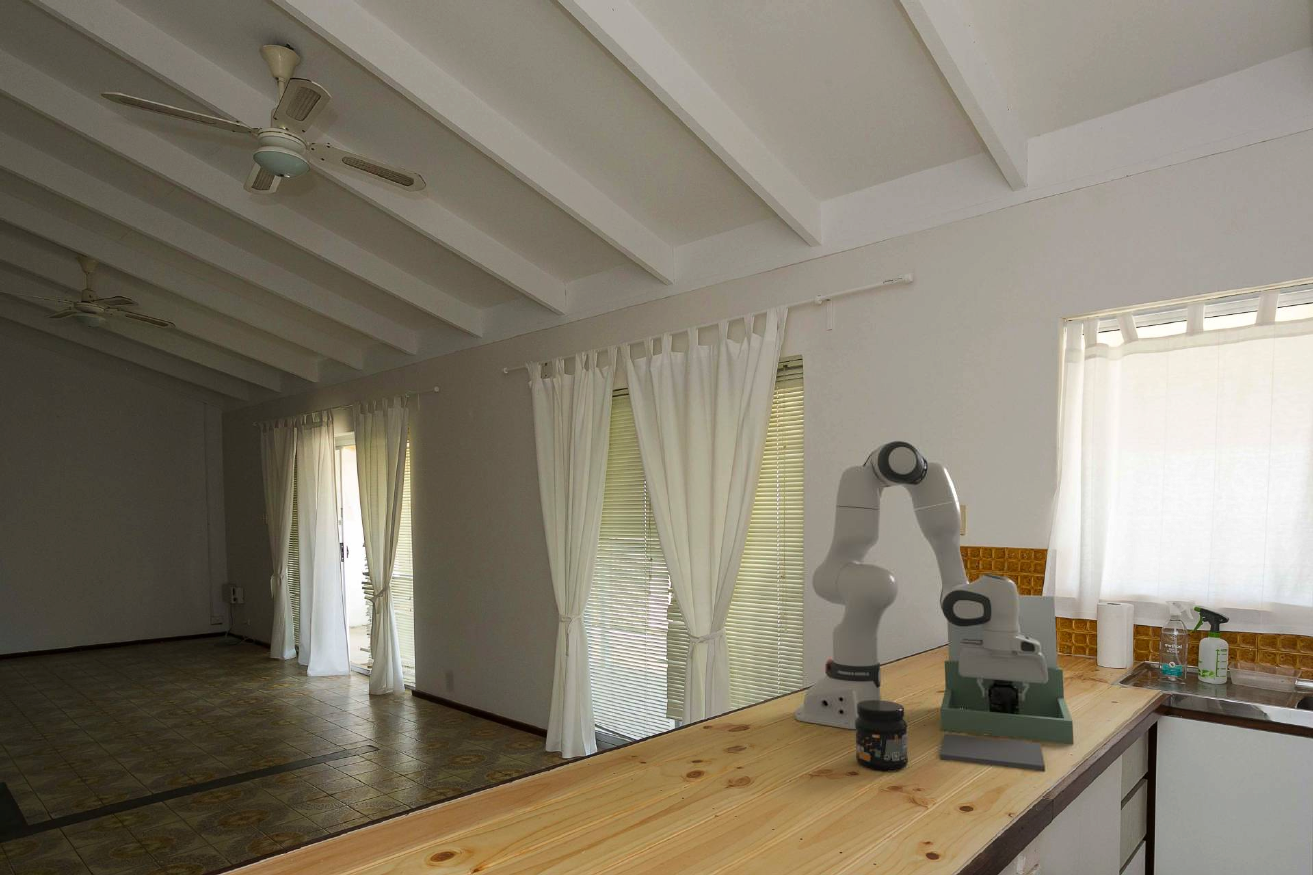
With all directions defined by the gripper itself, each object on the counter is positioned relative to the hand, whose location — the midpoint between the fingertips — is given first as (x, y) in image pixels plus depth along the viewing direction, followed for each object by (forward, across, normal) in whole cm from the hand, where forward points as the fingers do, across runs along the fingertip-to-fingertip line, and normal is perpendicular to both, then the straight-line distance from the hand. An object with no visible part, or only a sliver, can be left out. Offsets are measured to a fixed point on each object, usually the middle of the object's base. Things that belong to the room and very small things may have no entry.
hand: (1003, 698), depth 192 cm
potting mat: (+6, -2, -26) cm, 26 cm away
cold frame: (+6, 0, 0) cm, 6 cm away
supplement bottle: (+6, 0, 0) cm, 6 cm away
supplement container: (+6, -23, -42) cm, 48 cm away
